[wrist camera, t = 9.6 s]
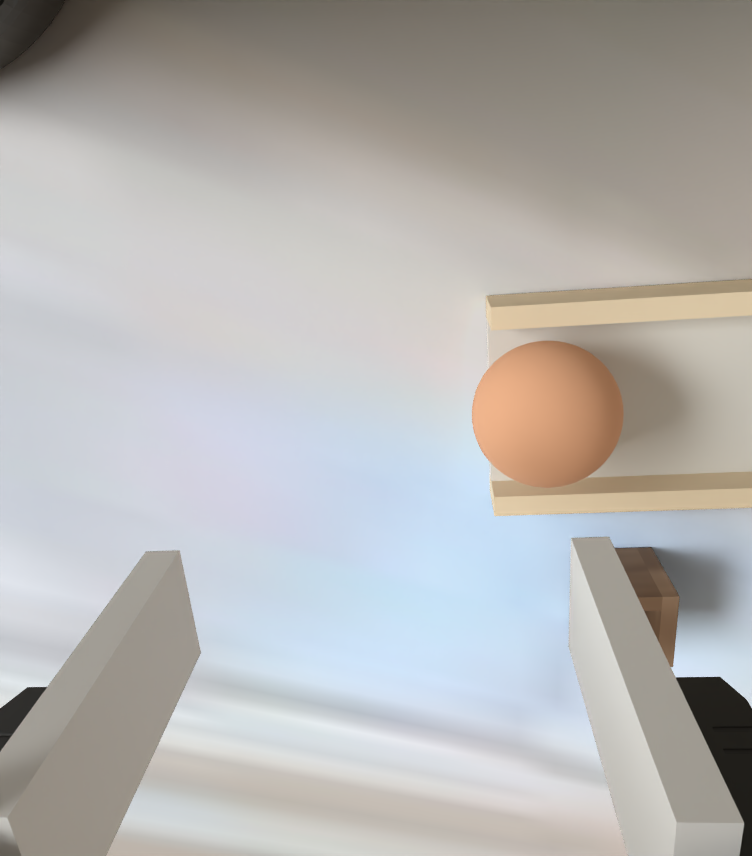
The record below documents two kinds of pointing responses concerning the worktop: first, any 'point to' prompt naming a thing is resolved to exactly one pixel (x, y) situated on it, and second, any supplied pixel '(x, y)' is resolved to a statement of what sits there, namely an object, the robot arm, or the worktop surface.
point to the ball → (547, 414)
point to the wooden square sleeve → (653, 594)
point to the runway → (647, 393)
